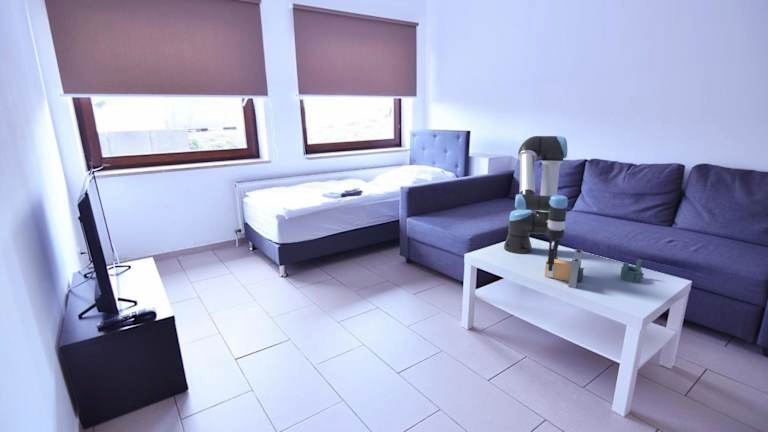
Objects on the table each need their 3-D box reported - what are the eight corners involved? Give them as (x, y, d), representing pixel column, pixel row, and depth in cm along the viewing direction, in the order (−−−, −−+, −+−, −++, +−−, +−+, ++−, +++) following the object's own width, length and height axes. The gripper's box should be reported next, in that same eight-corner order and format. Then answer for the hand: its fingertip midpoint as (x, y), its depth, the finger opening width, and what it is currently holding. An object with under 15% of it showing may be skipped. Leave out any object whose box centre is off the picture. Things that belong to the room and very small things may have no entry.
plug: (546, 272, 192) (548, 257, 190) (582, 279, 184) (584, 263, 182) (544, 276, 187) (546, 261, 185) (581, 283, 179) (583, 267, 177)
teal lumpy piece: (620, 281, 182) (623, 263, 180) (619, 273, 190) (622, 256, 188) (643, 284, 178) (646, 266, 176) (640, 277, 186) (644, 260, 184)
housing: (572, 272, 191) (576, 247, 188) (579, 274, 190) (583, 248, 186) (568, 286, 176) (571, 259, 173) (575, 288, 174) (579, 261, 171)
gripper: (550, 222, 192) (545, 266, 198) (544, 232, 176) (539, 279, 182) (566, 224, 188) (561, 269, 194) (562, 234, 173) (556, 282, 178)
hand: (550, 274), depth 188 cm, fingers closed on plug, 5 cm apart
